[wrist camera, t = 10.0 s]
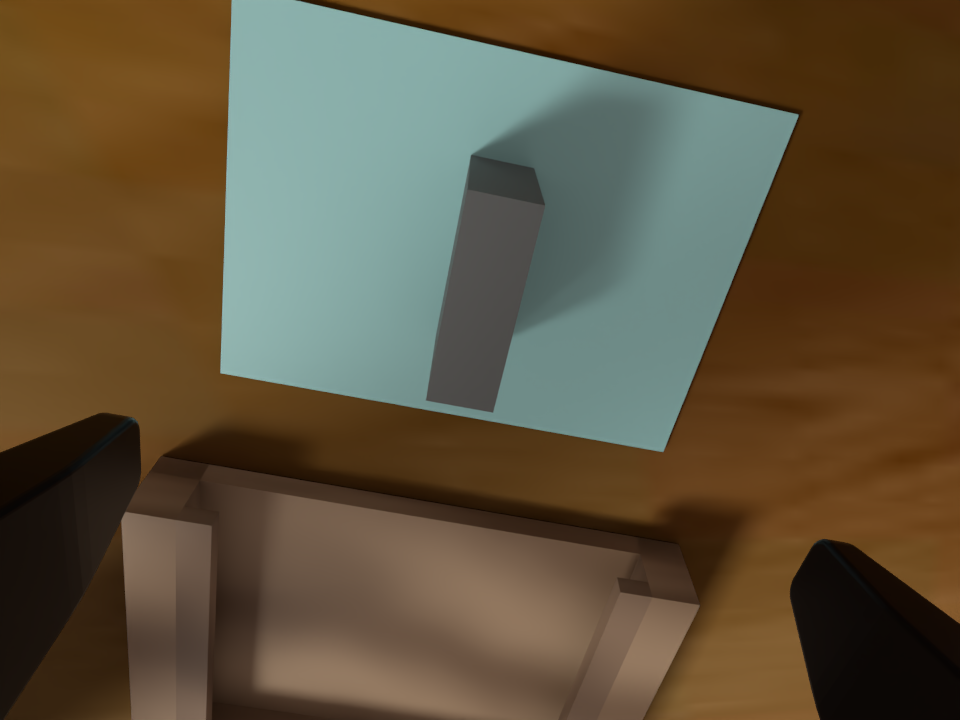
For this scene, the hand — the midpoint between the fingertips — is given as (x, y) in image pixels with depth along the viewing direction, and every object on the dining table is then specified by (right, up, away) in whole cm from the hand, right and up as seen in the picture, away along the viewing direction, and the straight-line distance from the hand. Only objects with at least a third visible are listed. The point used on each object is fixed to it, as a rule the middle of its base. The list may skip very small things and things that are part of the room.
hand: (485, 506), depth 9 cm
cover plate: (0, +5, +10) cm, 11 cm away
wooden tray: (-3, -8, +16) cm, 18 cm away
